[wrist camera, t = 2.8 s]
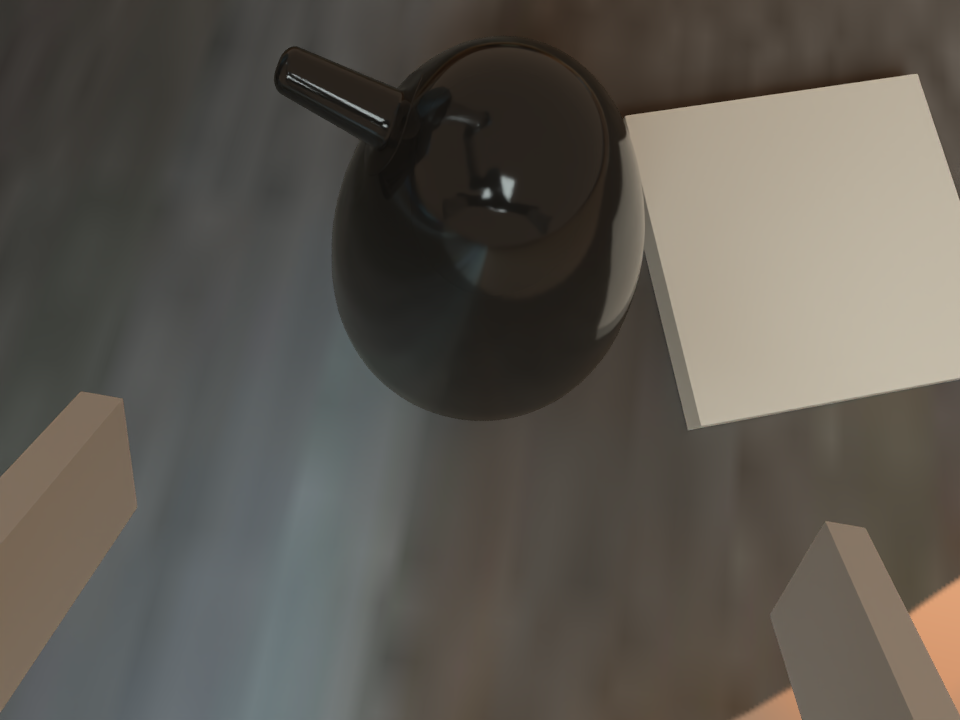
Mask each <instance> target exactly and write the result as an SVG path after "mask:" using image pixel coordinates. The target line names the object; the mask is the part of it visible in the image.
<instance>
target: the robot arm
mask: <svg viewBox="0 0 960 720" xmlns="http://www.w3.org/2000/svg"><path fill="white" fill-rule="evenodd" d="M136 508H137V500H136V493H135V486H134V478H133V471H132V463H131V456H130V448H129V441H128V434H127V426H126V419H125V411H124V404H123V399H122V398H116V397H111V396H105V395H99V394H93V393H88V392H82V391H81V392H80V393H79V394H78V395H77V396H76V397H75V398H74V399H73V400H72V401H71V402H70V403H69V405H68V406H67V407H66V408H65V409H64V410H63V411H62V412H61V413H60V414H59V415H58V416H57V417H56V418H55V419H54V421H53V422H52V423H51V424H50V425H49V426H48V427H47V428H46V429H45V430H44V431H43V432H42V433H41V434H40V435H39V437H38V438H37V439H36V440H35V441H34V442H33V443H32V444H31V445H30V446H29V447H28V448H27V449H26V450H25V452H24V453H23V454H22V455H21V456H20V457H19V458H18V459H17V460H16V461H15V462H14V463H13V464H12V465H11V466H10V468H9V469H8V470H7V471H6V472H5V473H4V474H3V475H2V476H1V477H0V712H1V711H2V709H3V708H4V706H5V705H6V703H7V702H8V700H9V699H10V697H11V696H12V694H13V693H14V691H15V690H16V688H17V687H18V685H19V684H20V682H21V681H22V679H23V678H24V676H25V675H26V673H27V672H28V670H29V669H30V667H31V666H32V664H33V663H34V661H35V660H36V658H37V657H38V655H39V654H40V652H41V651H42V649H43V648H44V646H45V645H46V643H47V642H48V640H49V639H50V637H51V636H52V634H53V633H54V631H55V630H56V628H57V627H58V625H59V624H60V622H61V621H62V619H63V618H64V616H65V615H66V613H67V612H68V610H69V609H70V607H71V606H72V604H73V603H74V601H75V600H76V598H77V597H78V595H79V594H80V592H81V591H82V589H83V588H84V586H85V585H86V583H87V582H88V580H89V579H90V577H91V576H92V574H93V573H94V571H95V570H96V568H97V567H98V565H99V564H100V562H101V561H102V559H103V558H104V556H105V555H106V553H107V552H108V550H109V549H110V547H111V546H112V544H113V543H114V541H115V540H116V538H117V537H118V535H119V534H120V532H121V531H122V529H123V528H124V526H125V525H126V523H127V522H128V520H129V519H130V517H131V516H132V514H133V513H134V511H135V510H136ZM770 618H771V621H772V624H773V627H774V631H775V634H776V637H777V640H778V644H779V647H780V650H781V653H782V656H783V660H784V663H785V666H786V669H787V673H788V676H789V679H790V682H791V685H792V689H793V692H794V695H795V698H796V702H797V705H798V708H799V711H800V714H801V718H802V720H960V715H959V713H958V711H957V709H956V707H955V705H954V703H953V701H952V699H951V697H950V695H949V693H948V691H947V689H946V688H945V685H944V683H943V681H942V679H941V677H940V675H939V673H938V672H937V669H936V667H935V666H934V664H933V661H932V660H931V658H930V656H929V654H928V652H927V650H926V648H925V646H924V644H923V642H922V640H921V638H920V636H919V634H918V632H917V630H916V628H915V626H914V624H913V622H912V620H911V618H910V616H909V614H908V612H907V610H906V608H905V606H904V604H903V602H902V600H901V598H900V596H899V594H898V592H897V590H896V588H895V586H894V584H893V582H892V580H891V578H890V576H889V574H888V572H887V570H886V568H885V566H884V564H883V562H882V560H881V558H880V556H879V554H878V552H877V550H876V548H875V546H874V544H873V542H872V540H871V538H870V536H869V534H868V533H867V531H866V529H865V528H863V527H857V526H851V525H845V524H840V523H834V522H828V521H825V522H824V524H823V525H822V527H821V529H820V531H819V532H818V534H817V536H816V537H815V539H814V541H813V542H812V544H811V546H810V548H809V549H808V551H807V553H806V554H805V556H804V558H803V559H802V561H801V563H800V565H799V566H798V568H797V570H796V571H795V573H794V575H793V576H792V578H791V580H790V582H789V583H788V585H787V587H786V588H785V590H784V592H783V593H782V595H781V597H780V598H779V600H778V602H777V604H776V605H775V607H774V609H773V610H772V612H771V614H770Z"/></svg>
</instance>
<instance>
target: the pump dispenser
mask: <svg viewBox="0 0 960 720" xmlns="http://www.w3.org/2000/svg"><path fill="white" fill-rule="evenodd" d="M274 83H275V87H276V89H277V90H278V92H279V93H280V94H282V95H284V96H285V97H287V98H289V99H291V100H292V101H294V102H296V103H297V104H299V105H301V106H303V107H304V108H306V109H308V110H310V111H311V112H313V113H315V114H317V115H318V116H320V117H322V118H324V119H325V120H327V121H329V122H330V123H332V124H334V125H336V126H337V127H339V128H341V129H343V130H344V131H346V132H348V133H349V134H351V135H353V136H355V137H356V138H358V139H360V141H359V143H358V145H357V147H356V149H355V151H354V153H353V156H352V158H351V160H350V162H349V165H348V167H347V170H346V173H345V176H344V178H343V182H342V185H341V188H340V192H339V196H338V199H337V204H336V209H335V215H334V221H333V231H332V278H333V287H334V293H335V298H336V303H337V307H338V311H339V314H340V317H341V320H342V323H343V325H344V328H345V330H346V332H347V335H348V337H349V339H350V341H351V343H352V344H353V346H354V348H355V350H356V351H357V353H358V354H359V356H360V358H361V359H362V360H363V362H364V363H365V364H366V366H367V367H368V368H369V369H370V370H371V372H372V373H373V374H374V375H375V376H376V377H377V378H378V379H379V380H380V381H381V382H382V383H383V384H385V385H386V386H387V387H388V388H389V389H391V390H392V391H393V392H395V393H396V394H397V395H399V396H400V397H402V398H403V399H405V400H407V401H408V402H410V403H412V404H414V405H416V406H418V407H420V408H422V409H425V410H427V411H430V412H433V413H436V414H439V415H442V416H446V417H450V418H455V419H461V420H470V421H493V420H502V419H509V418H514V417H518V416H522V415H525V414H528V413H531V412H534V411H536V410H539V409H541V408H543V407H545V406H547V405H549V404H551V403H553V402H555V401H557V400H558V399H560V398H561V397H563V396H564V395H566V394H567V393H569V392H570V391H571V390H573V389H574V388H575V387H576V386H578V385H579V384H580V383H581V382H582V381H583V380H584V379H585V378H586V377H587V376H588V375H589V374H590V373H591V372H592V371H593V370H594V369H595V368H596V366H597V365H598V364H599V363H600V361H601V360H602V359H603V357H604V356H605V355H606V353H607V352H608V350H609V349H610V347H611V345H612V344H613V342H614V340H615V338H616V336H617V334H618V333H619V331H620V328H621V326H622V324H623V322H624V320H625V317H626V315H627V313H628V310H629V307H630V305H631V302H632V299H633V296H634V293H635V290H636V286H637V283H638V279H639V274H640V270H641V264H642V258H643V250H644V238H645V213H644V200H643V191H642V184H641V178H640V173H639V168H638V163H637V159H636V155H635V151H634V148H633V145H632V141H631V138H630V135H629V133H628V130H627V127H626V125H625V123H624V120H623V118H622V116H621V114H620V112H619V110H618V108H617V107H616V105H615V103H614V102H613V100H612V98H611V97H610V95H609V94H608V93H607V91H606V90H605V89H604V87H603V86H602V85H601V84H600V82H599V81H598V80H597V79H596V78H595V77H594V76H593V75H592V74H591V73H590V72H589V71H588V70H587V69H586V68H585V67H584V66H583V65H581V64H580V63H579V62H578V61H576V60H575V59H574V58H572V57H571V56H569V55H568V54H566V53H564V52H563V51H561V50H559V49H557V48H555V47H553V46H551V45H548V44H546V43H543V42H540V41H537V40H533V39H529V38H523V37H516V36H493V37H485V38H479V39H475V40H471V41H468V42H465V43H462V44H459V45H457V46H454V47H452V48H450V49H448V50H446V51H444V52H442V53H440V54H438V55H436V56H435V57H433V58H431V59H430V60H428V61H427V62H426V63H424V64H423V65H422V66H420V67H419V68H418V69H417V70H415V71H414V72H413V73H412V74H411V75H409V76H408V77H407V78H406V79H405V80H404V81H403V82H402V83H401V84H400V86H399V87H398V88H395V87H393V86H390V85H388V84H385V83H383V82H381V81H378V80H376V79H373V78H371V77H369V76H366V75H364V74H362V73H359V72H357V71H354V70H352V69H350V68H347V67H345V66H343V65H340V64H338V63H336V62H333V61H331V60H328V59H326V58H324V57H321V56H319V55H317V54H314V53H312V52H309V51H307V50H305V49H302V48H300V47H297V46H293V47H290V48H288V49H287V50H285V51H284V53H283V54H282V55H281V57H280V59H279V62H278V65H277V67H276V71H275V75H274Z"/></svg>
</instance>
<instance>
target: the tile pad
mask: <svg viewBox="0 0 960 720" xmlns="http://www.w3.org/2000/svg"><path fill="white" fill-rule="evenodd" d="M623 120H624V123H625V125H626V127H627V130H628V133H629V135H630V138H631V141H632V145H633V148H634V151H635V155H636V159H637V163H638V168H639V173H640V178H641V184H642V191H643V200H644V213H645V238H644V251H645V255H646V259H647V264H648V268H649V272H650V276H651V280H652V284H653V288H654V292H655V297H656V301H657V305H658V309H659V313H660V317H661V321H662V325H663V330H664V334H665V338H666V342H667V346H668V350H669V354H670V358H671V363H672V367H673V371H674V375H675V379H676V383H677V387H678V391H679V396H680V400H681V404H682V408H683V412H684V416H685V420H686V424H687V428H688V430H693V429H698V428H703V427H709V426H714V425H719V424H725V423H730V422H735V421H741V420H746V419H751V418H757V417H762V416H767V415H773V414H778V413H783V412H789V411H794V410H799V409H805V408H810V407H815V406H821V405H826V404H831V403H837V402H842V401H847V400H853V399H858V398H863V397H869V396H874V395H879V394H885V393H890V392H895V391H901V390H906V389H911V388H917V387H922V386H927V385H933V384H938V383H943V382H949V381H954V380H959V379H960V200H959V197H958V194H957V191H956V188H955V185H954V182H953V179H952V176H951V173H950V170H949V167H948V164H947V161H946V158H945V155H944V152H943V149H942V146H941V143H940V140H939V137H938V134H937V131H936V128H935V125H934V122H933V119H932V116H931V113H930V110H929V107H928V104H927V101H926V98H925V95H924V92H923V89H922V86H921V83H920V80H919V77H918V74H912V75H905V76H898V77H891V78H884V79H877V80H870V81H863V82H856V83H849V84H843V85H836V86H829V87H822V88H815V89H808V90H801V91H794V92H787V93H780V94H773V95H766V96H759V97H752V98H745V99H738V100H732V101H725V102H718V103H711V104H704V105H697V106H690V107H683V108H676V109H669V110H662V111H655V112H648V113H641V114H634V115H627V116H625V117H624V119H623Z"/></svg>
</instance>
